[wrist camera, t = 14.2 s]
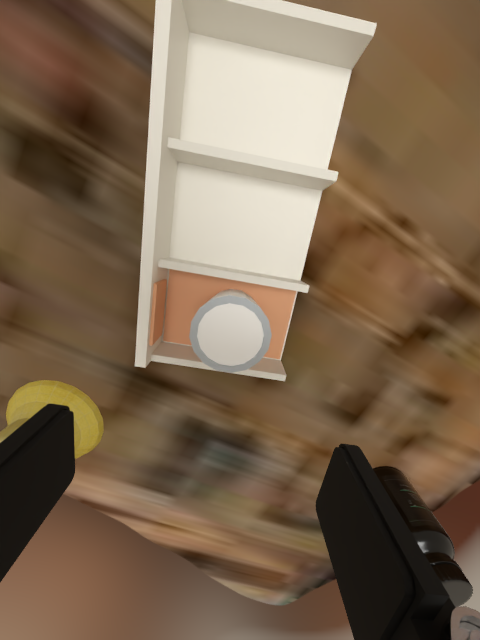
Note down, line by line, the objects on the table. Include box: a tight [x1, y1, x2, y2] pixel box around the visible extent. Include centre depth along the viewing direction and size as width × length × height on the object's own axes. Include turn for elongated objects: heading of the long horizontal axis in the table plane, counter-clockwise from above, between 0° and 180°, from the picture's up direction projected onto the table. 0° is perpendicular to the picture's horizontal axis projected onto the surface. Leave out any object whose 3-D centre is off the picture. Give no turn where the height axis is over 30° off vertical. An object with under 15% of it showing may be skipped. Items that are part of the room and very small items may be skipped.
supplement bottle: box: [374, 467, 473, 607], centre depth 30 cm, size 7×7×12 cm
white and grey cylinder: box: [189, 289, 272, 373], centre depth 24 cm, size 7×7×7 cm
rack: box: [135, 0, 377, 381], centre depth 23 cm, size 29×15×6 cm, turn 170°
